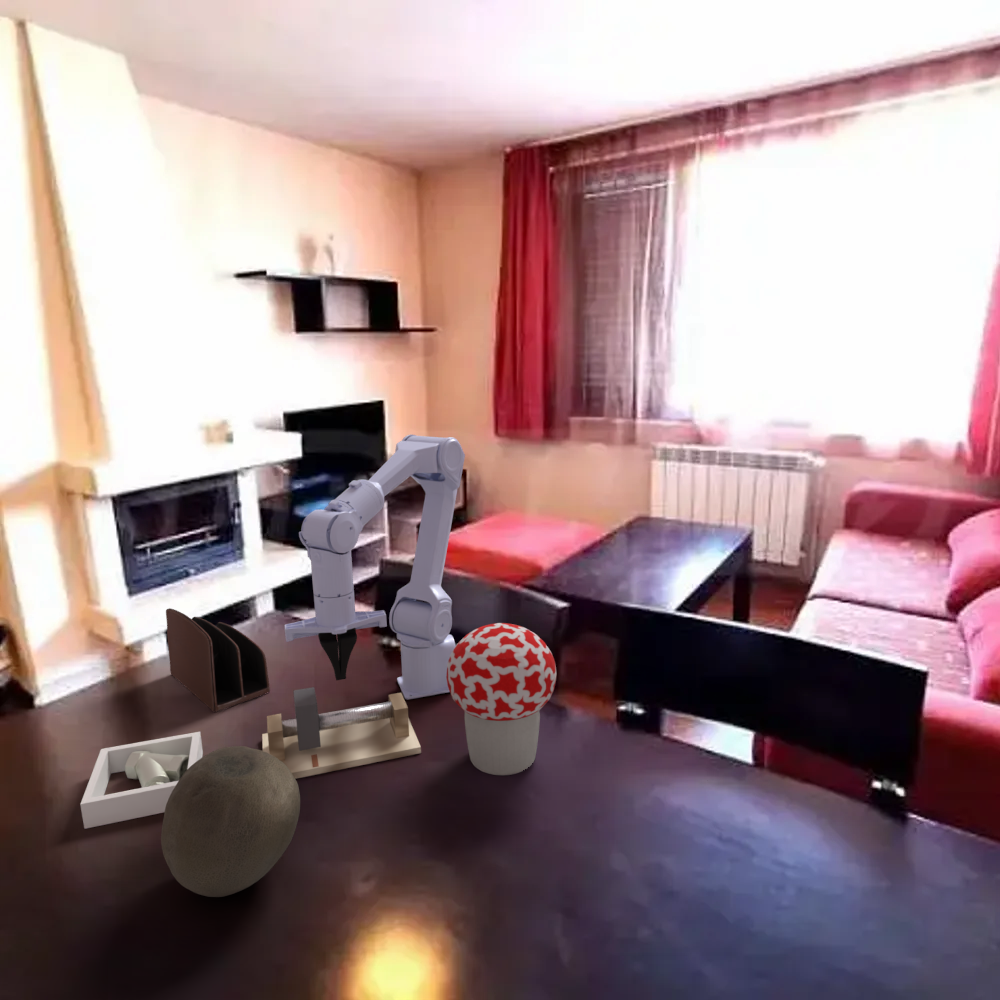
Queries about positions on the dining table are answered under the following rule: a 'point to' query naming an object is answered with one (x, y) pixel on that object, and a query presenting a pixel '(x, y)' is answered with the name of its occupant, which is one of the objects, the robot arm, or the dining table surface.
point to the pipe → (344, 718)
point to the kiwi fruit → (229, 820)
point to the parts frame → (134, 801)
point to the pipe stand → (345, 743)
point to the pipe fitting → (155, 767)
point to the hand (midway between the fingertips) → (340, 676)
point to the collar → (307, 718)
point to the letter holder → (215, 661)
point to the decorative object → (501, 694)
